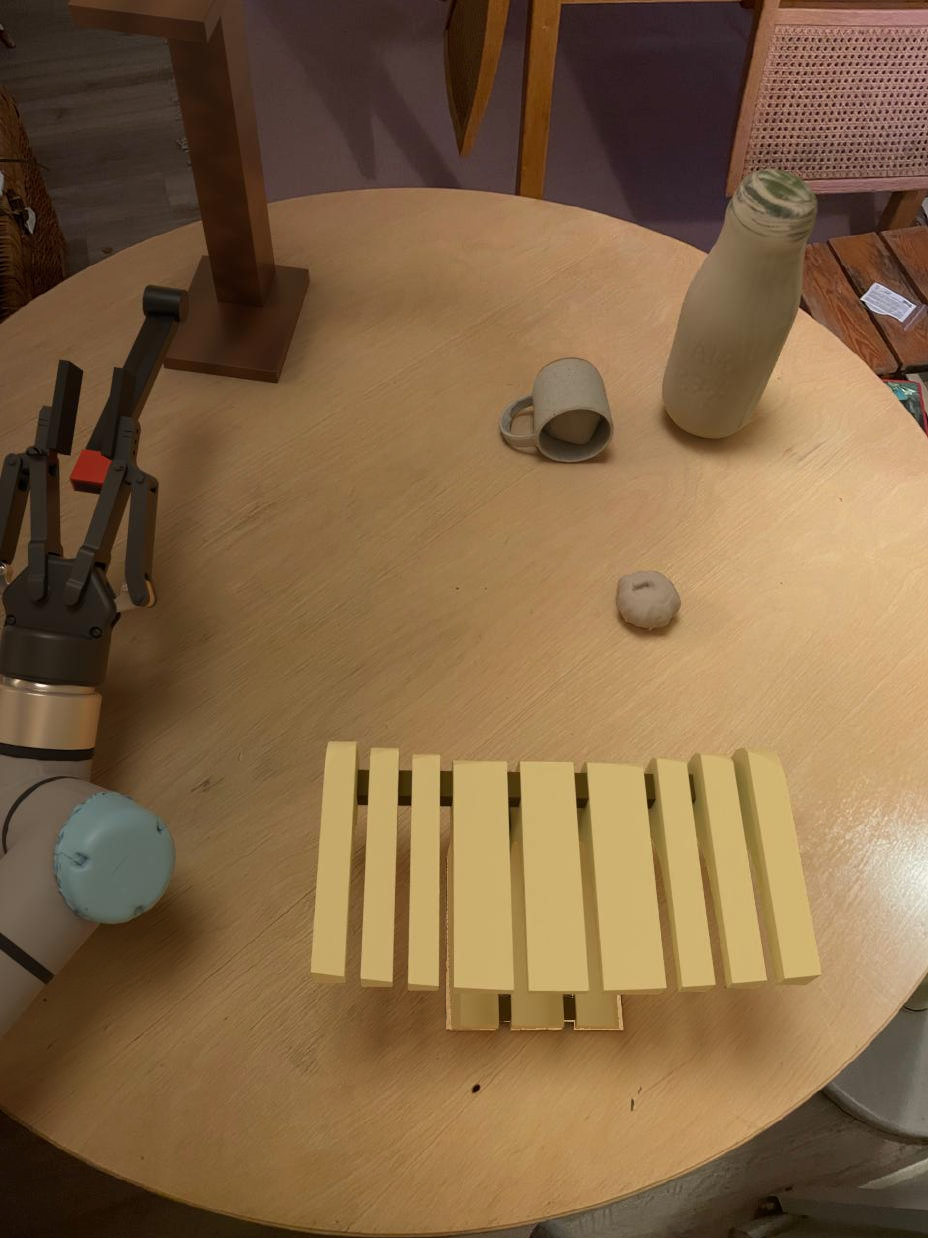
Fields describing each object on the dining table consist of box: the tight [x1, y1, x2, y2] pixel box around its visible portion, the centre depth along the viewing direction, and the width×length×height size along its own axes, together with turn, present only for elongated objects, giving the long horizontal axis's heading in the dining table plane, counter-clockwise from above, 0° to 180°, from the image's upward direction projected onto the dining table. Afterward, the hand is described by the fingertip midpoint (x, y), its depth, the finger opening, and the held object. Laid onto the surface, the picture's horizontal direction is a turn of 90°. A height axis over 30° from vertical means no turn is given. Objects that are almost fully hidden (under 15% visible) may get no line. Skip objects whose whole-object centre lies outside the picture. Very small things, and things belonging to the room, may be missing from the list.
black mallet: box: [68, 284, 189, 496], centre depth 84 cm, size 3×22×3 cm, turn 172°
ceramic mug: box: [499, 356, 615, 463], centre depth 103 cm, size 11×8×8 cm
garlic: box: [616, 570, 682, 631], centre depth 93 cm, size 6×5×5 cm
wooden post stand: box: [67, 0, 311, 384], centre depth 95 cm, size 12×18×38 cm, turn 172°
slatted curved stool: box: [310, 740, 823, 1030], centre depth 72 cm, size 30×16×18 cm, turn 90°
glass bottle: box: [661, 167, 819, 439], centre depth 96 cm, size 10×10×28 cm
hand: (98, 369), depth 77 cm, fingers open, 3 cm apart
